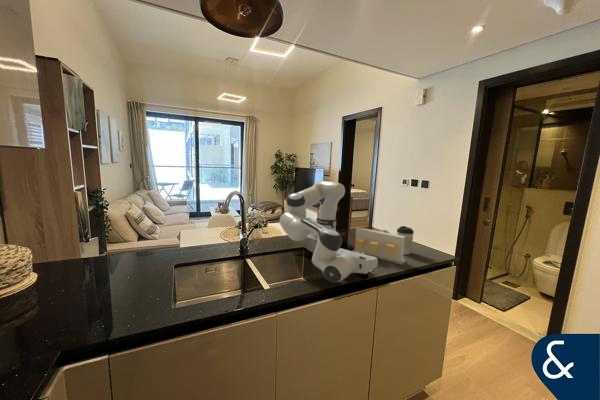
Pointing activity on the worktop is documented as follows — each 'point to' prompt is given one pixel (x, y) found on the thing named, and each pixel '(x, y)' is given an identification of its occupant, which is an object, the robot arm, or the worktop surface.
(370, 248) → the button middle
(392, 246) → the button right
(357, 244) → the button left
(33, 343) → the worktop surface
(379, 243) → the donut
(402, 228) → the coffee cup
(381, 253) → the button panel
